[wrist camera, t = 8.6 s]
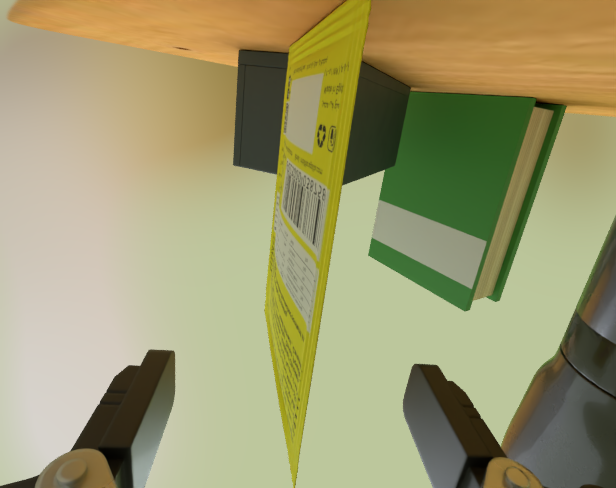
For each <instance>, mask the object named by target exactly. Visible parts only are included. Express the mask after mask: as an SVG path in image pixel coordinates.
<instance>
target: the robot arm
mask: <svg viewBox="0 0 616 488" xmlns="http://www.w3.org/2000/svg"><path fill="white" fill-rule="evenodd" d="M174 395H175V353H174V351H168V350H167V351H166V350H149V351H148V352H147V354H146V356H145V358H144V360H143V362H142V364H141V366H132V365H129V366H128V367H126V368H125V369H124V370H123V371H121V372H120V373H119V374H118V375H116V376H115V377H114V379H113V381H112V382H111V384H110V386H109V388H108V389H107V392H106V393H105V394H104V396H103V398H102V399H101V401H100V404H99V405H98V406H97V408H96V409H95V411H94V413H93V414H92V416H91V418H90V420H89V421H88V423H87V425H86V426H85V428H84V430H83V431H82V433H81V434H80V436H79V438H78V439H77V441H76V443H75V445H74V446H73V448H72V449H71V451H70V452H68V453H66V454H64V455H62V456H60V457H58V458H57V459H55V460H54V461H52V462H51V463H50V464H49V465H48V466H47V467H46V468H45V469H44V470H43V471H42V473H41V474H40V475H38V476H35V477H33V478H29V479H26V480H22V481H19V482H14V483H10V484H6V485H3V486H0V488H144V487H145V484H146V481H147V479H148V476H149V473H150V470H151V467H152V464H153V461H154V459H155V455H156V453H157V450H158V447H159V444H160V441H161V438H162V436H163V433H164V430H165V427H166V424H167V421H168V418H169V415H170V412H171V409H172V406H173V402H174ZM403 412H404V416H405V419H406V422H407V424H408V427H409V429H410V432H411V434H412V437H413V439H414V442H415V444H416V447H417V449H418V451H419V454H420V456H421V459H422V462H423V464H424V466H425V469H426V471H427V474H428V476H429V479H430V481H431V484H432V486H433V488H616V216H615V218H614V221H613V223H612V225H611V228H610V230H609V232H608V235H607V237H606V239H605V242H604V244H603V246H602V248H601V251H600V253H599V255H598V258H597V260H596V262H595V265H594V267H593V269H592V272H591V274H590V276H589V279H588V281H587V283H586V285H585V288H584V290H583V292H582V295H581V297H580V300H579V302H578V304H577V306H576V309H575V312H574V314H573V316H572V318H571V321H570V323H569V325H568V328H567V330H566V332H565V335H564V337H563V339H562V342H561V344H560V346H559V348H558V351H557V352H556V354H555V355H554V356H553V357H552V358H551V359H549V360H548V361H547V362H545V363H544V364H543V365H542V366H541V367H540V368H539V369H538V371H537V372H536V374H535V375H534V377H533V379H532V381H531V383H530V385H529V387H528V389H527V391H526V393H525V395H524V397H523V399H522V401H521V403H520V405H519V407H518V409H517V411H516V413H515V415H514V417H513V418H512V420H511V422H510V424H509V427H508V429H507V431H506V433H505V436H504V439H503V441H502V444H501V447H500V445H499V444H498V442H497V441H496V439H495V437H494V436H493V434H492V433H491V431H490V430H489V428H488V427H487V425H486V424H485V422H484V420H483V419H481V416H480V414H479V413H478V411H477V410H476V408H474V405H473V403H472V402H471V400H470V399H469V397H468V396H467V394H466V393H465V392H464V391H463V390H462V389H461V388H460V387H459V386H457V385H456V384H455V383H454V382H453V381H447V379H446V378H445V376H444V375H443V373H442V372H441V370H440V368H439V367H438V366H437V365H428V364H414V365H413V367H412V369H411V373H410V377H409V380H408V384H407V387H406V392H405V395H404V399H403Z"/></svg>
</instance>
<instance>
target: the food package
mask: <svg viewBox="0 0 616 488" xmlns="http://www.w3.org/2000/svg"><path fill="white" fill-rule="evenodd" d="M370 11H371V0H347V1H345V2H344V3H343V4H342V5H340V6H339V7H338V8H337V9H336V10H334V11H333V12H332V13H331V14H329V15H328V16H327V17H326V18H325V19H323V20H322V21H321V22H320V23H319V24H317V25H316V26H315V27H314V28H313V29H311V30H310V31H309V32H308V33H306V34H305V35H304V36H303V37H301V38H300V39H299V40H298V41H297V42H295V43H293V44H292V45H291V46H290V48H289V55H288V68H287V75H286V84H285V94H284V105H283V116H282V127H281V138H280V149H279V159H278V170H277V182H276V191H275V203H274V213H273V224H272V234H271V245H270V255H269V265H268V276H267V287H266V301H265V310H264V311H265V316H266V322H267V328H268V336H269V343H270V350H271V356H272V362H273V368H274V375H275V381H276V387H277V393H278V399H279V405H280V411H281V417H282V423H283V428H284V433H285V439H286V444H287V449H288V455H289V463H290V470H291V474H292V482H293V488H295V485H296V478H297V472H298V462H299V454H300V448H301V441H302V435H303V429H304V422H305V417H306V410H307V404H308V398H309V391H310V386H311V379H312V373H313V367H314V360H315V354H316V348H317V341H318V335H319V329H320V322H321V316H322V310H323V303H324V297H325V290H326V284H327V278H328V272H329V265H330V259H331V252H332V246H333V240H334V234H335V227H336V221H337V214H338V208H339V202H340V194H341V189H342V182H343V176H344V169H345V163H346V156H347V150H348V144H349V137H350V131H351V124H352V118H353V111H354V105H355V98H356V92H357V85H358V79H359V72H360V66H361V60H362V55H363V49H364V43H365V37H366V33H367V29H368V18H369V14H370Z"/></svg>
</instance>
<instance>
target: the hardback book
mask: <svg viewBox="0 0 616 488" xmlns="http://www.w3.org/2000/svg"><path fill="white" fill-rule="evenodd" d="M535 102H536V99H535V98H529V97H509V96H489V95H468V94H448V93H428V92H410V95H409V100H408V104H407V109H406V114H405V119H404V124H403V129H402V134H401V139H400V144H399V149H398V154H397V159H396V163H395V166H393V167H391V168H388V169H385V172H384V178H383V182H382V188H381V193H380V198H379V203H378V208H377V213H376V219H375V224H374V229H373V234H372V239H371V244H370V249H369V254H368V255H369V256H370V257H372V258H374V259H375V260H377V261H379V262H381V263H382V264H384V265H386V266H387V267H389V268H391V269H393V270H395V271H396V272H398V273H400V274H401V275H403V276H405V277H406V278H408V279H410V280H412V281H413V282H415V283H417V284H418V285H420V286H422V287H424V288H425V289H427V290H429V291H431V292H432V293H434V294H436V295H437V296H439V297H441V298H443V299H444V300H446V301H448V302H450V303H451V304H453V305H455V306H457V307H458V308H460V309H462V310H464V311H468V310H470V307H471V304H472V301H473V300H477V299H480V298H484V297H487V298H489V299H491V300H493V301H495V302H497V301H499V300H500V298H501V294H502V292H503V289H504V286H505V283H506V280H507V277H508V274H509V272H510V269H511V266H512V263H513V260H514V257H515V254H516V251H517V249H518V246H519V243H520V240H521V237H522V234H523V231H524V228H525V225H526V222H527V219H528V217H529V214H530V211H531V208H532V205H533V202H534V199H535V197H536V193H537V191H538V188H539V185H540V182H541V179H542V176H543V173H544V170H545V168H546V165H547V162H548V159H549V156H550V153H551V150H552V148H553V145H554V142H555V139H556V136H557V133H558V130H559V127H560V124H561V121H562V119H563V116H564V113H565V110H566V107H567V106H564V105H553V104H536V103H535Z"/></svg>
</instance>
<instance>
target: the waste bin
mask: <svg viewBox="0 0 616 488" xmlns="http://www.w3.org/2000/svg"><path fill="white" fill-rule="evenodd" d="M288 55H289V54H287V53H273V52H259V51H245V50H239V57H238V79H237V80H238V81H237V98H236V118H235V119H236V120H235V138H234V158H233V165H234V166H239V167H244V168H249V169H254V170H258V171H263V172H267V173H272V174H277V170H278V159H279V149H280V138H281V127H282V116H283V105H284V94H285V84H286V75H287V68H288ZM410 90H411V88H410V87H408V86H406V85H404V84H402V83H401V82H399V81H397V80H395V79H393V78H391V77H389V76H388V75H386V74H384V73H382V72H380V71H378V70H376V69H375V68H373V67H371V66H369V65H367V64H365V63H364V62H362V61H361V66H360V72H359V79H358V85H357V92H356V98H355V105H354V111H353V118H352V124H351V131H350V137H349V144H348V150H347V156H346V163H345V169H344V176H343V182H342V185H345V184H347V183H350V182H352V181H355V180H358V179H361V178H364V177H366V176H369V175H372V174H374V173H377V172H380V171H383V170H385V169H388V168H391V167H393V166H395V163H396V159H397V154H398V149H399V144H400V139H401V134H402V129H403V124H404V119H405V114H406V109H407V104H408V100H409V95H410Z"/></svg>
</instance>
